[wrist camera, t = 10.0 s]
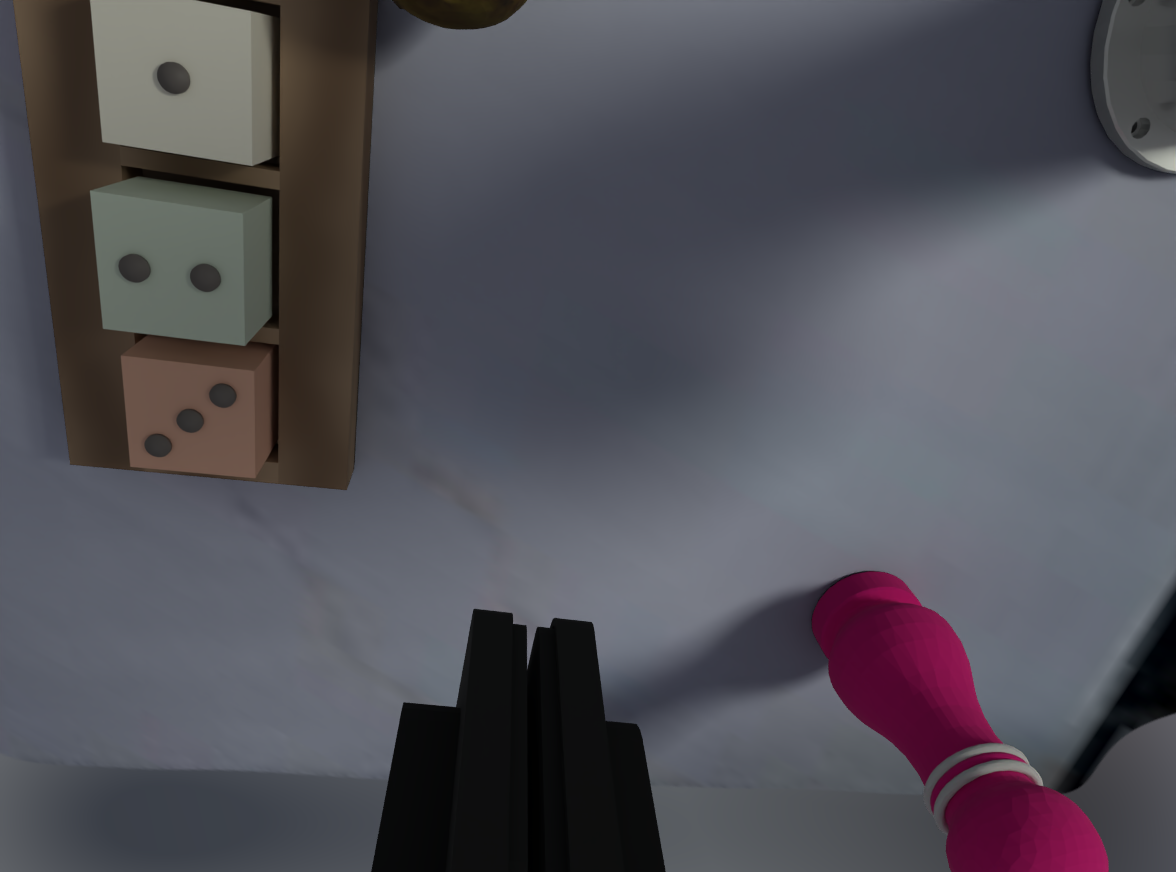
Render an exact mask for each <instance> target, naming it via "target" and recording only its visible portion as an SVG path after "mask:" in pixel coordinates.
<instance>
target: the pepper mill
mask: <svg viewBox="0 0 1176 872" xmlns="http://www.w3.org/2000/svg"><path fill="white" fill-rule="evenodd" d="M812 630H813V633H814V636H815V638H816V640H817V642H818V643H819V645H820V647H821V649H822V650H823V652H824V654H825V656H826V657H827V658H828V659H829V663H828V669H829V676H830V680H831V683H832V686H833V688H834V689H835V691H836V693H837V694H838V696H839V697H840V699H841V700H842V702H843V703H844V704H845V705H846V707H847V708H848V709H849V710H850V711H851V712H852V713H853V714H854V715H855V716H856V717H857V718H858V719H859V720H860V721H861V722H863V723H864V724H865V725H867V726H868V727H870V728H871V729H873V730H875V731H876V732H878V733H879V734H881V735H882V736H884V737H885V738H886V739H888V740H889V741H890V742H892V743H893V744H894V745H895V746H896V747H897V748H898V749H899V750H900V751H901V752H902V753H903V754H904V755H905V756H906V757H907V759H908V760H909V762H910V763H911V764H912V766H913V767H914V768H915V770H916V771H917V772H918V774H919V776H920V778H921V780H922V782H923V784H924V786H925V787H924V793H923V798H924V802H925V805H926V807H927V809H928V810H929V812H930V813H931V814H932V815H933V816H934V819H935V822H936V824H937V826H938V828H939V829H940V830H941V831H942V832H943V833H944V834H945V835H947V841H946V854H947V858H948V863H949V868H950V870H951V872H1108V871H1109V870H1108V858H1107V855H1106V851H1105V848H1104V846H1103V843H1102V840H1101V838H1100V836H1099V834H1098V832H1097V831H1096V829H1095V828H1094V826H1093V825H1092V823H1091V821H1090V820H1089V818H1088V817H1087V816H1086V814H1085V813H1083V811H1082V810H1081V809H1080V808H1079V807H1078V806H1077V805H1076V804H1075V803H1074V802H1072V801H1071V800H1070V799H1069V798H1067V797H1066V796H1064V795H1062V794H1060V793H1059V792H1057V791H1055V790H1052V789H1050V788H1047V787H1044V786H1043V782H1042V779H1041V777H1040V775H1039V774H1038V772H1037V771H1036V770H1035V769H1034V768H1033V767H1031V766H1030V765H1029V762H1028V760H1027V758H1026V757H1025V755H1024V754H1023V753H1022V752H1021V751H1019V750H1018V749H1016V748H1014V747H1012V746H1009V745H1006V744H1003V743H1002V742H1001V741H1000V740H999V739H998V737H997V736H996V735H995V734H994V732H993V730H992V729H991V727H990V725H989V724H988V722H987V720H986V719H985V717H984V715H983V712H982V710H981V707H980V705H979V703H978V700H977V696H976V692H975V688H974V683H973V678H972V672H971V667H970V663H969V660H968V658H967V655H966V653H965V650H964V648H963V645H962V643H961V641H960V639H959V638H958V636H957V635H956V633H955V632H954V630H953V629H952V627H951V626H950V625H949V624H948V622H947V621H946V620H945V619H944V618H943V617H941V616H940V615H939V614H937V613H936V612H935V611H933V610H930V609H928V608H925V607H922V606H921V604H920V602H919V601H918V599H917V598H916V597H915V595H914V594H913V593H912V592H911V590H910V589H909V588H908V587H907V585H906V584H905V583H904V582H903V581H902V580H901V579H899V578H897V577H896V576H893V575H891V574H888V573H885V572H874V571H868V572H863V573H858V574H853V575H851V576H849V577H847V578H844V579H842V580H840V581H839V582H837V583H836V584H834V585H833V586H832V587H830V588H829V589H828V590H827V591H826V592H825V594H824V595H823V596H822V597H821V598H820V600H819V601H818V603H817V605H816V607H815V609H814V613H813V616H812Z"/></svg>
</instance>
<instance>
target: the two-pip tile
mask: <svg viewBox="0 0 1176 872" xmlns="http://www.w3.org/2000/svg"><path fill="white" fill-rule="evenodd" d="M90 197H91V208H92V218H93V229H94V239H95V250H96V260H97V270H98V281H99V291H100V302H101V312H102V323H103V329H109V330H118V331H126V332H134V333H142V334H151V335H159V336H167V337H175V338H183V339H192V340H200V341H208V342H216V343H225V344H233V345H241V346H245V345H246V344H247V343H248V342H249V341H250V340H251V339H252V338H253V336H254V335H255V334H256V333H257V332H258V331H259V330H260V329H261V328H262V327H263V325H264V324H265V323H266V322H267V321H268V320H269V319H270V318H271V317H272V197H270V196H263V195H257V194H250V193H244V192H238V191H231V190H225V189H218V188H212V187H205V186H199V185H192V184H186V183H179V182H173V181H166V180H160V179H153V178H147V177H140V176H137V177H134V178H131V179H127V180H124V181H121V182H117V183H114V184H111V185H107V186H104V187H101V188H97V189H94V190H91V191H90Z"/></svg>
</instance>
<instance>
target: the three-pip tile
mask: <svg viewBox="0 0 1176 872" xmlns="http://www.w3.org/2000/svg"><path fill="white" fill-rule="evenodd" d="M121 364H122V376H123V387H124V399H125V410H126V422H127V434H128V445H129V457H130V467H138V468H149V469H160V470H170V471H181V472H192V473H202V474H213V475H224V476H235V477H245V478H256V476H257V475H258V473H259V471H260V470H261V468H262V466H263V464H264V463H265V461H266V459H267V458H268V456H269V454H270V452H271V451H272V449H273V447H274V446H275V444H276V442H277V441H278V433H279V345H276V344H268V343H260V342H252V341H249V342H248V343H247V344H246V345H245V346H241V345H233V344H225V343H216V342H208V341H200V340H192V339H183V338H175V337H167V336H159V335H151V334H148V335H147V336H146V337H144V338H143V339H142V340H140V341H139V342H138V343H136V344H135V345H134V346H133V347H131V348H130V349H129V350H127V351H126V352H125V353H123V354H122V355H121Z"/></svg>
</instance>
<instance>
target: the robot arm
mask: <svg viewBox="0 0 1176 872" xmlns="http://www.w3.org/2000/svg"><path fill="white" fill-rule="evenodd" d="M1090 68H1091V90H1092V95H1093V99H1094V103H1095V107H1096V111H1097V115H1098V117H1099V119H1100V121H1101V123H1102V125H1103V127H1104V129H1105V131H1106V133H1107V135H1108V137H1109V138H1110V139H1111V141H1112V142H1113V143H1114V144H1115V145H1116V146H1117V147H1118V149H1119V150H1120V151H1121V152H1122V153H1123V154H1124V155H1126V156H1127V157H1129V158H1130V159H1132V160H1133V161H1135V162H1136V163H1138V164H1139V165H1142V166H1145V167H1148V168H1151V169H1154V170H1157V171H1160V172H1165V173H1173V174H1176V0H1103V2H1102V5H1101V9H1100V13H1099V16H1098V20H1097V23H1096V27H1095V30H1094V36H1093V44H1092V52H1091V61H1090ZM371 872H665V865H664V860H663V854H662V849H661V843H660V837H659V831H658V826H657V820H656V814H655V808H654V803H653V797H652V791H651V785H650V779H649V774H648V768H647V762H646V756H645V751H644V745H643V739H642V736H641V732H640V729H639V727H638V726H637V724H632V723H621V722H610V721H605V714H604V705H603V697H602V689H601V681H600V673H599V665H598V657H597V649H596V640H595V632H594V626H593V624H592V622H586V621H577V620H568V619H559V618H554V619H553V620H552V623H551V626H550V628H545V627H537V630H536V633H535V637H534V642H533V646H532V651H531V655H530V660H529V664H528V669H527V627H526V625H518V624H513V614H512V613H506V612H497V611H489V610H480V609H474V610H473V615H472V620H471V626H470V631H469V637H468V643H467V648H466V654H465V660H464V666H463V671H462V677H461V683H460V688H459V694H458V700H457V705H456V707H448V706H437V705H426V704H416V703H405V702H404V703H403V707H402V711H401V717H400V722H399V727H398V732H397V738H396V743H395V748H394V754H393V759H392V764H391V770H390V775H389V780H388V786H387V791H386V796H385V802H384V807H383V812H382V818H381V823H380V828H379V834H378V839H377V844H376V850H375V855H374V861H373V865H372V871H371Z"/></svg>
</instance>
